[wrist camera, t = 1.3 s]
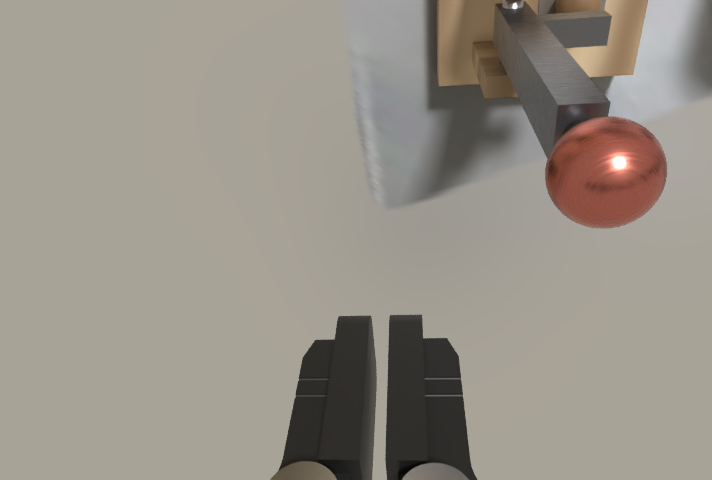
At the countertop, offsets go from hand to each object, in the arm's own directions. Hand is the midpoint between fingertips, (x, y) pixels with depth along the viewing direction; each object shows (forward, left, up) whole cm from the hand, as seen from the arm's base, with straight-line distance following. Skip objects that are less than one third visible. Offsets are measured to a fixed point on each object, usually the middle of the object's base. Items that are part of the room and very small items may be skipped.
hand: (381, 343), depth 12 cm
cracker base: (-10, 0, -35) cm, 36 cm away
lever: (-9, 0, -27) cm, 28 cm away
